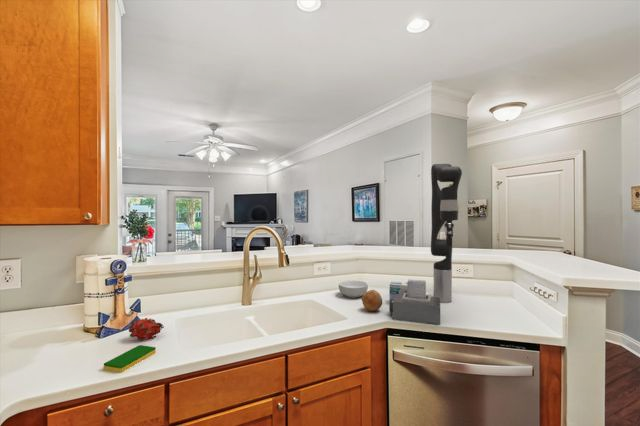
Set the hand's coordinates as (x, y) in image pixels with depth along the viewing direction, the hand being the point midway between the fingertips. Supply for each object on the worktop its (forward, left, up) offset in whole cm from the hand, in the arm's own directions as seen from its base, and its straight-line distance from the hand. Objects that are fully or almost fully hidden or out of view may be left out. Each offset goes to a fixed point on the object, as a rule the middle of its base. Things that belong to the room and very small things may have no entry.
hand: (449, 244), depth 141 cm
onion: (+4, -35, -33) cm, 48 cm away
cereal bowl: (-18, -50, -33) cm, 63 cm away
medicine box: (+6, -14, -25) cm, 30 cm away
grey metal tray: (+6, -14, -33) cm, 36 cm away
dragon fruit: (+66, -111, -33) cm, 133 cm away
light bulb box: (-12, -23, -33) cm, 42 cm away
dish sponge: (+81, -100, -34) cm, 133 cm away
